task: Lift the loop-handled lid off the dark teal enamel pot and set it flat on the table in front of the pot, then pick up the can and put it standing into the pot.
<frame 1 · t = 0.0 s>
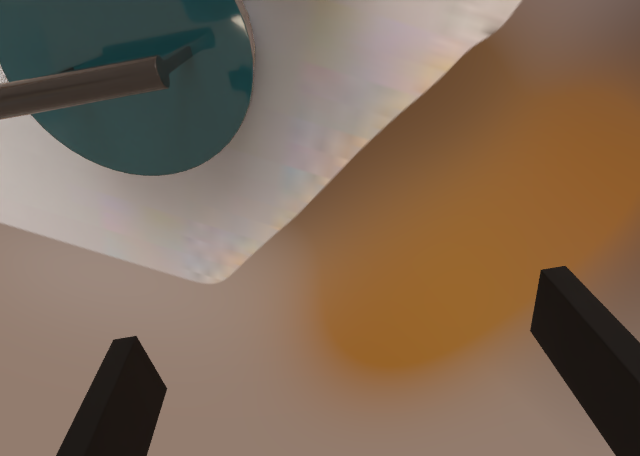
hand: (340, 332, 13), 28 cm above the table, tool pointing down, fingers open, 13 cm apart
lid: (131, 60, 27), point 7 cm above the table, touching pot
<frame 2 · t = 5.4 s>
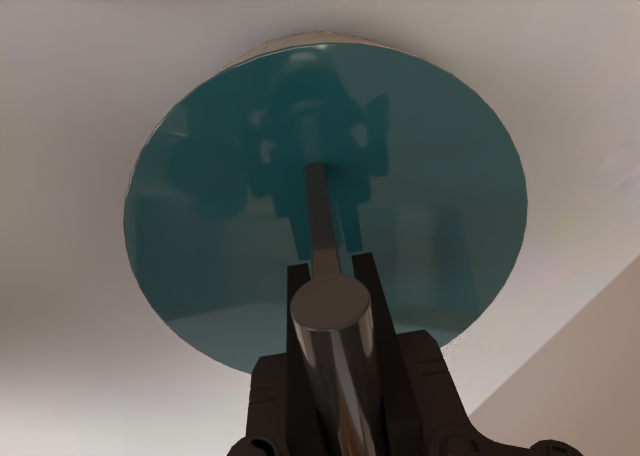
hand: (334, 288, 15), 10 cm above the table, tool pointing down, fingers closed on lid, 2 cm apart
lid: (329, 249, 17), point 7 cm above the table, touching gripper, pot
pot: (318, 177, 24), on the table
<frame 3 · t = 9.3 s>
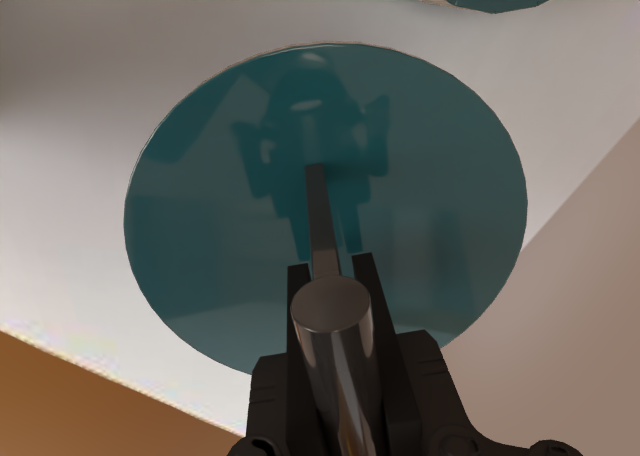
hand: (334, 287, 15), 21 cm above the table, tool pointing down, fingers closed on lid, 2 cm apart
lid: (329, 249, 17), point 19 cm above the table, touching gripper
when the fingers open (3 cm above the table, at t = 13.3 s): lid stays where it is, point 1 cm above the table.
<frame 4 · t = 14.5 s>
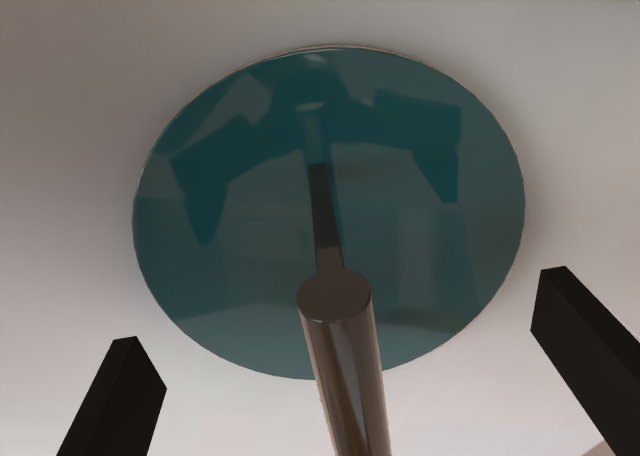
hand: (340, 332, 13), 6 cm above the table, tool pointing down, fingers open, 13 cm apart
lid: (331, 248, 18), point 1 cm above the table
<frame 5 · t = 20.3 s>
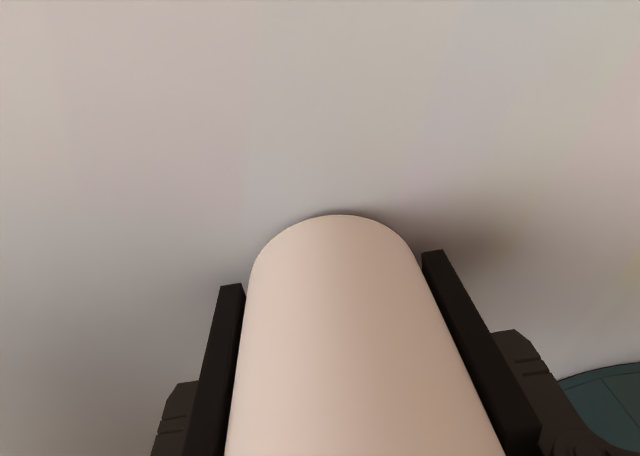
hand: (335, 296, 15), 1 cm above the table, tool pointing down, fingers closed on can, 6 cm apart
can: (332, 277, 16), on the table, touching gripper
pot: (587, 450, 24), on the table
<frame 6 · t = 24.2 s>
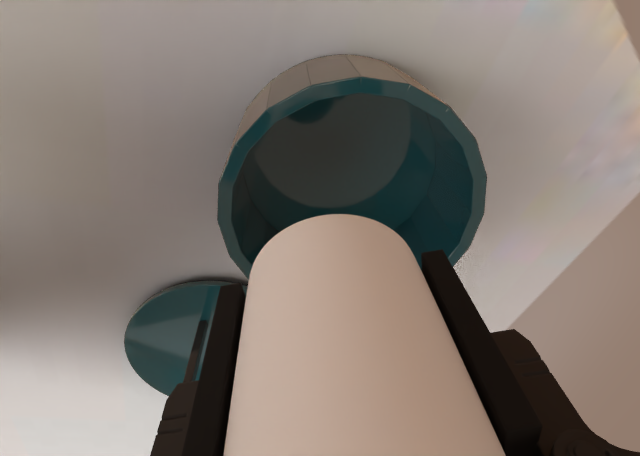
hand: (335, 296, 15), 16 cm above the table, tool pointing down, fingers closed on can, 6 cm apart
lid: (217, 347, 38), point 1 cm above the table
can: (332, 276, 16), point 15 cm above the table, touching gripper
pot: (339, 167, 30), on the table
when the fingers open (1 cm above the table, at t = 28.4 s): can stays where it is, resting on pot.
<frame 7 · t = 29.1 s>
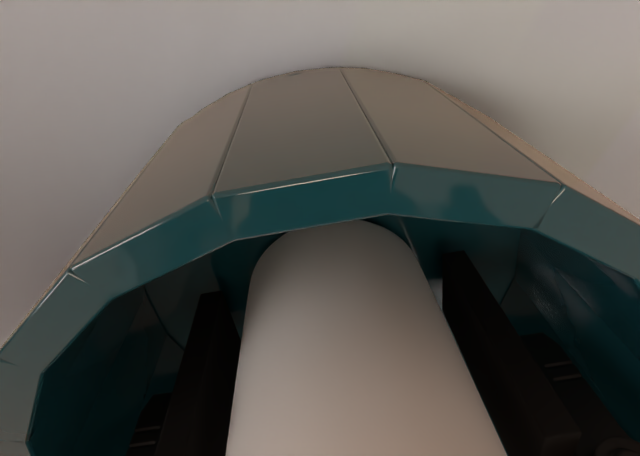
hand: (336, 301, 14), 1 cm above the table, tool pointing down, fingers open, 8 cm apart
can: (334, 281, 15), resting on pot
pot: (333, 276, 16), on the table
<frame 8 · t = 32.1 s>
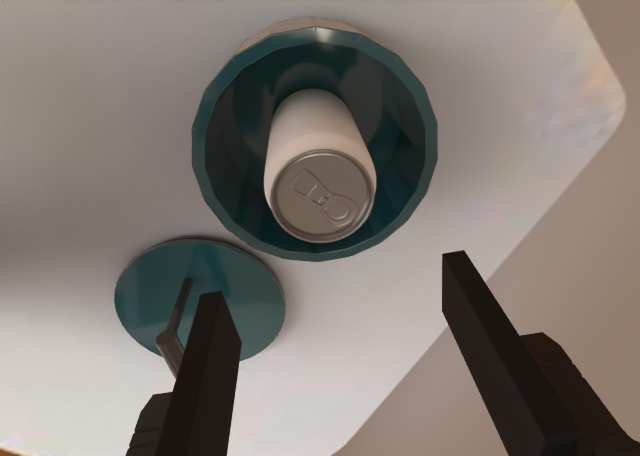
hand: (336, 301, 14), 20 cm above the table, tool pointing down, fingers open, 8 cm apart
lid: (203, 306, 40), point 1 cm above the table
can: (312, 128, 32), resting on pot
pot: (311, 127, 32), on the table
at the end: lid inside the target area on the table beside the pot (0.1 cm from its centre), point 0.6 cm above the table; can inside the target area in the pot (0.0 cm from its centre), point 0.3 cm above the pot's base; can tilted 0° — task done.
